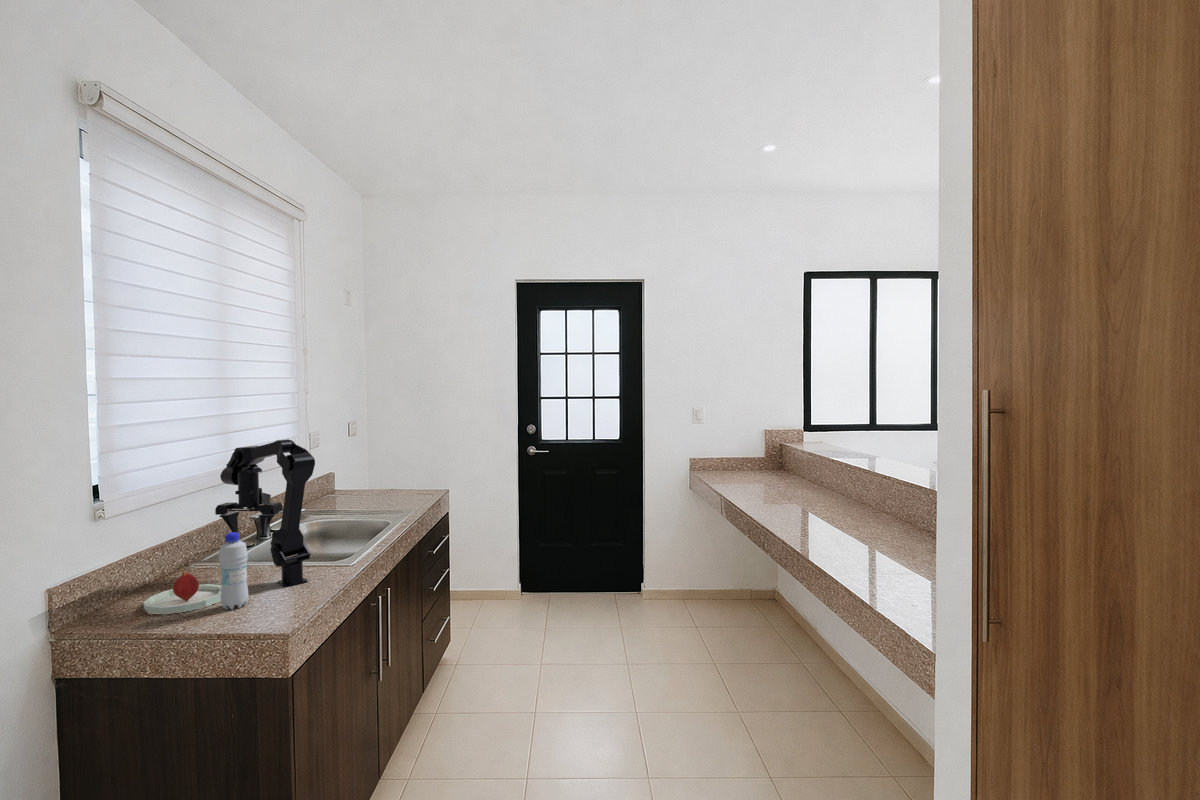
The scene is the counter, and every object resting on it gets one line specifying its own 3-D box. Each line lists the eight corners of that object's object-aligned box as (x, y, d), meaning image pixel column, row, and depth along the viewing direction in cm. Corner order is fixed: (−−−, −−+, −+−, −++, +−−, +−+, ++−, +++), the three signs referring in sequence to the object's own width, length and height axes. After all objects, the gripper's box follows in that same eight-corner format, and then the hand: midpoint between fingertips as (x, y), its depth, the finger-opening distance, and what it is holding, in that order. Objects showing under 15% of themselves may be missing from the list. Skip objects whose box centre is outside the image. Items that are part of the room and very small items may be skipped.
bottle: (228, 613, 159) (225, 536, 159) (215, 608, 163) (212, 533, 162) (254, 604, 165) (252, 531, 164) (241, 600, 168) (238, 528, 168)
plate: (233, 601, 168) (233, 593, 168) (153, 620, 155) (153, 612, 155) (214, 586, 180) (213, 580, 180) (138, 603, 167) (138, 596, 167)
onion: (181, 597, 170) (180, 568, 170) (203, 596, 171) (202, 567, 170) (168, 604, 164) (167, 575, 164) (191, 603, 165) (190, 574, 165)
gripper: (291, 481, 200) (293, 529, 200) (236, 482, 201) (237, 529, 201) (271, 487, 189) (273, 537, 189) (213, 488, 190) (214, 538, 190)
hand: (250, 535), depth 193 cm, fingers open, 9 cm apart
